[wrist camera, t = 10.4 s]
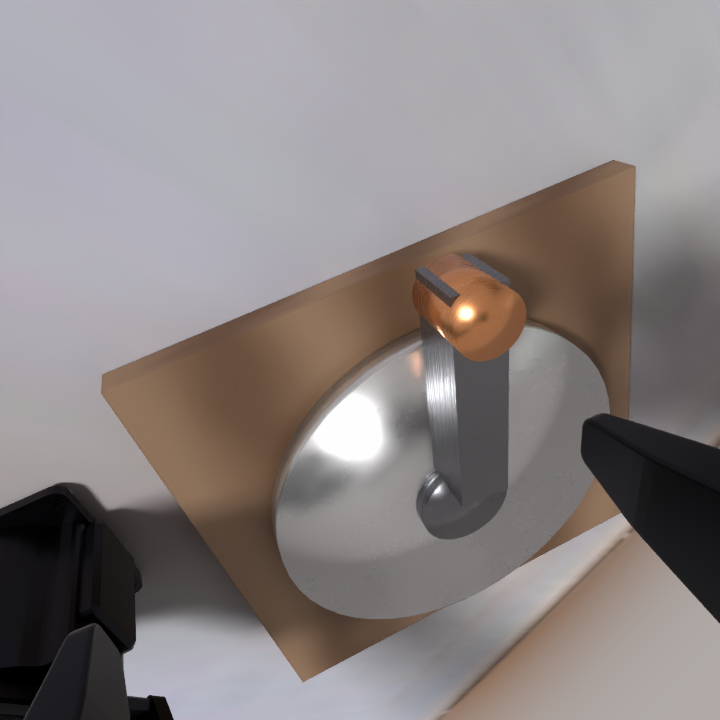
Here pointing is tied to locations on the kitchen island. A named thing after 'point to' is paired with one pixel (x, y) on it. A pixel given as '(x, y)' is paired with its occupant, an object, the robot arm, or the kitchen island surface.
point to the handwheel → (437, 453)
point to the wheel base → (338, 355)
